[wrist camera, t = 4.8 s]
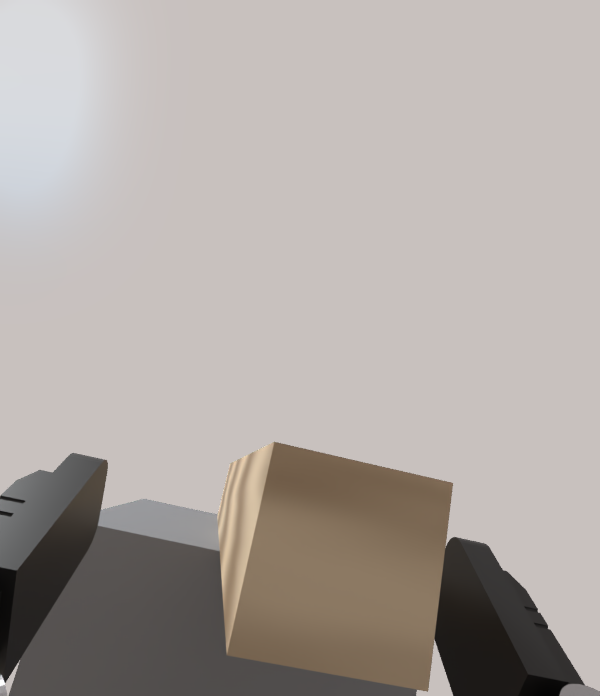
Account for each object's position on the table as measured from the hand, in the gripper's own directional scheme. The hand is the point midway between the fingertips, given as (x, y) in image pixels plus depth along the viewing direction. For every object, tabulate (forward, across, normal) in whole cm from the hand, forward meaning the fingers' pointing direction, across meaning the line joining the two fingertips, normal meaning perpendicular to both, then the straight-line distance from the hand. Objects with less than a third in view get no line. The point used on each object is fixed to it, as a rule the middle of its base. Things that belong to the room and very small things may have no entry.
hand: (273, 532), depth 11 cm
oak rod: (+5, 0, +5) cm, 7 cm away
